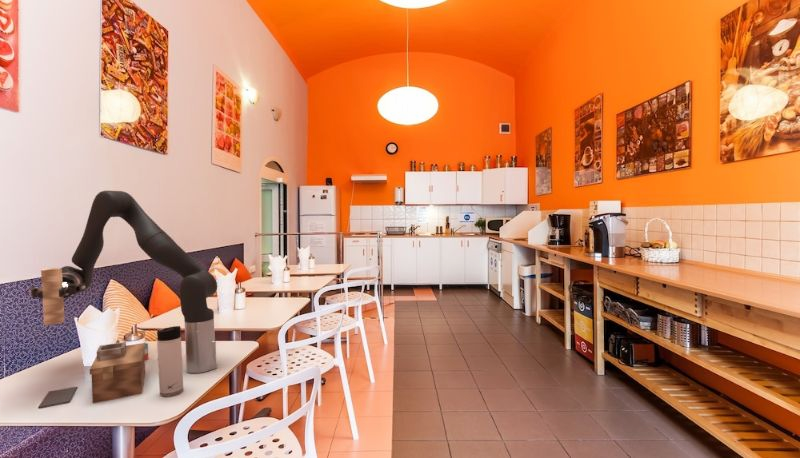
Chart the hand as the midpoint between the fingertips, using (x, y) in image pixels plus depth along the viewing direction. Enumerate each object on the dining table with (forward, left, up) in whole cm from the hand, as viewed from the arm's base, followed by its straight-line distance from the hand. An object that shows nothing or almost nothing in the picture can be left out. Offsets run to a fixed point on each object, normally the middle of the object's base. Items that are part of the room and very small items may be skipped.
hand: (50, 294), depth 120 cm
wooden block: (0, -3, -9) cm, 9 cm away
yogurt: (-19, -23, -32) cm, 43 cm away
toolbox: (-16, -3, -31) cm, 35 cm away
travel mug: (-30, +11, -32) cm, 45 cm away
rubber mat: (0, -3, -31) cm, 32 cm away
